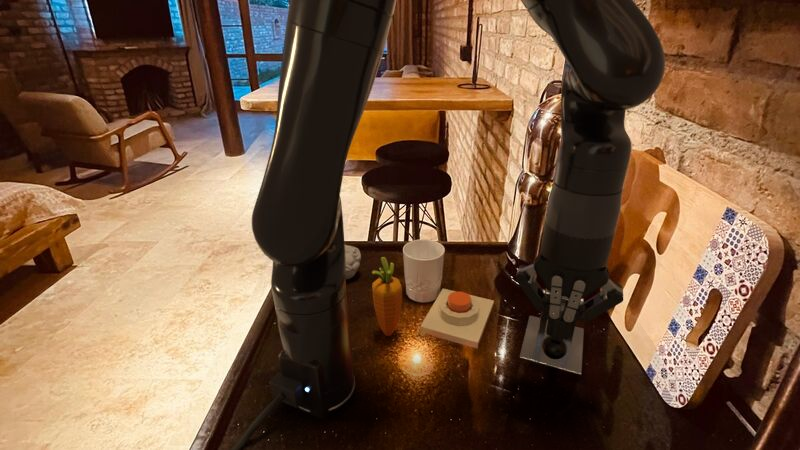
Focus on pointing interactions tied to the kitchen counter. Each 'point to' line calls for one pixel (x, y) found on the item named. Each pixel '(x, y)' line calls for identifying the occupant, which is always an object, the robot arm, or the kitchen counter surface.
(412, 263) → the white cup
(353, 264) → the frog figurine
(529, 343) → the bracket
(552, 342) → the lever
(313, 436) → the kitchen counter surface
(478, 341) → the control block
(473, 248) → the kitchen counter surface
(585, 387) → the kitchen counter surface
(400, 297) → the carrot
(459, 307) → the button
